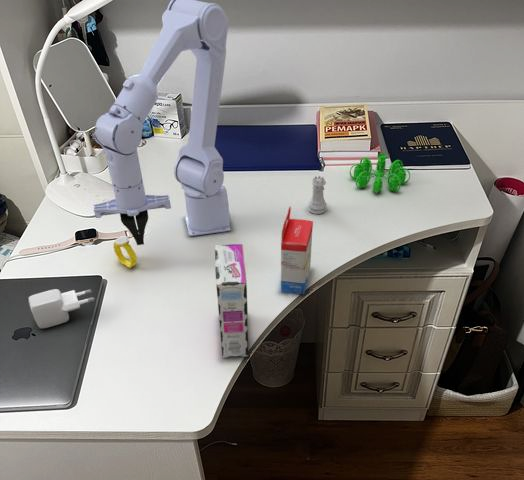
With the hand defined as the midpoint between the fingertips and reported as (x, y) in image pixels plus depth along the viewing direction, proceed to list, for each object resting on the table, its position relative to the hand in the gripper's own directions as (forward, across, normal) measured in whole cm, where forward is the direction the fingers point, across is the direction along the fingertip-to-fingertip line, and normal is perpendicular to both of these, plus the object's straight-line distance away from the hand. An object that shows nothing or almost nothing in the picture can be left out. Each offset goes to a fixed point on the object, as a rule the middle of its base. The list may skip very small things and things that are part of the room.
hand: (140, 242), depth 110 cm
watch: (+5, -4, 0) cm, 6 cm away
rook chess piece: (+5, +42, +11) cm, 43 cm away
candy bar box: (+5, +14, -27) cm, 31 cm away
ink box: (+5, +30, -14) cm, 33 cm away
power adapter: (+5, -16, -14) cm, 21 cm away
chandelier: (+5, +60, +20) cm, 64 cm away
